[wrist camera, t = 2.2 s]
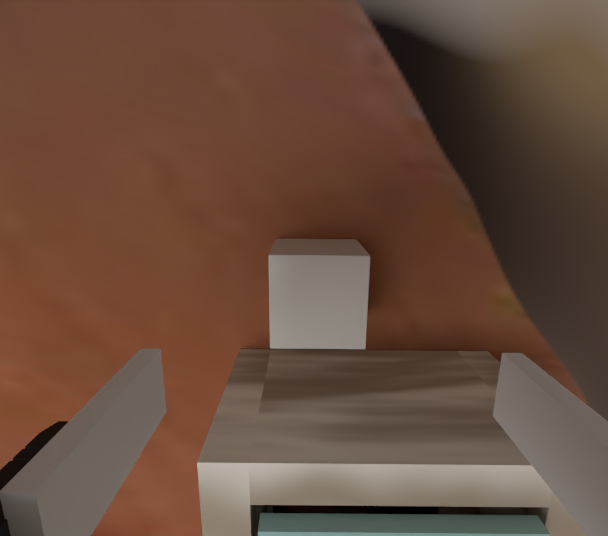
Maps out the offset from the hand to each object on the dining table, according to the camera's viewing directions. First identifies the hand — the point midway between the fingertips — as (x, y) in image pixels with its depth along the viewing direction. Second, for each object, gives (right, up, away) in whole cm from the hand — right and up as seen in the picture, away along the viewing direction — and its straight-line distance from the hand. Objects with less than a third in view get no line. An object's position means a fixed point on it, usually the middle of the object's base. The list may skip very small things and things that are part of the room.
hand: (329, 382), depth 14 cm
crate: (+4, -12, +18) cm, 22 cm away
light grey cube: (0, +4, +14) cm, 14 cm away
